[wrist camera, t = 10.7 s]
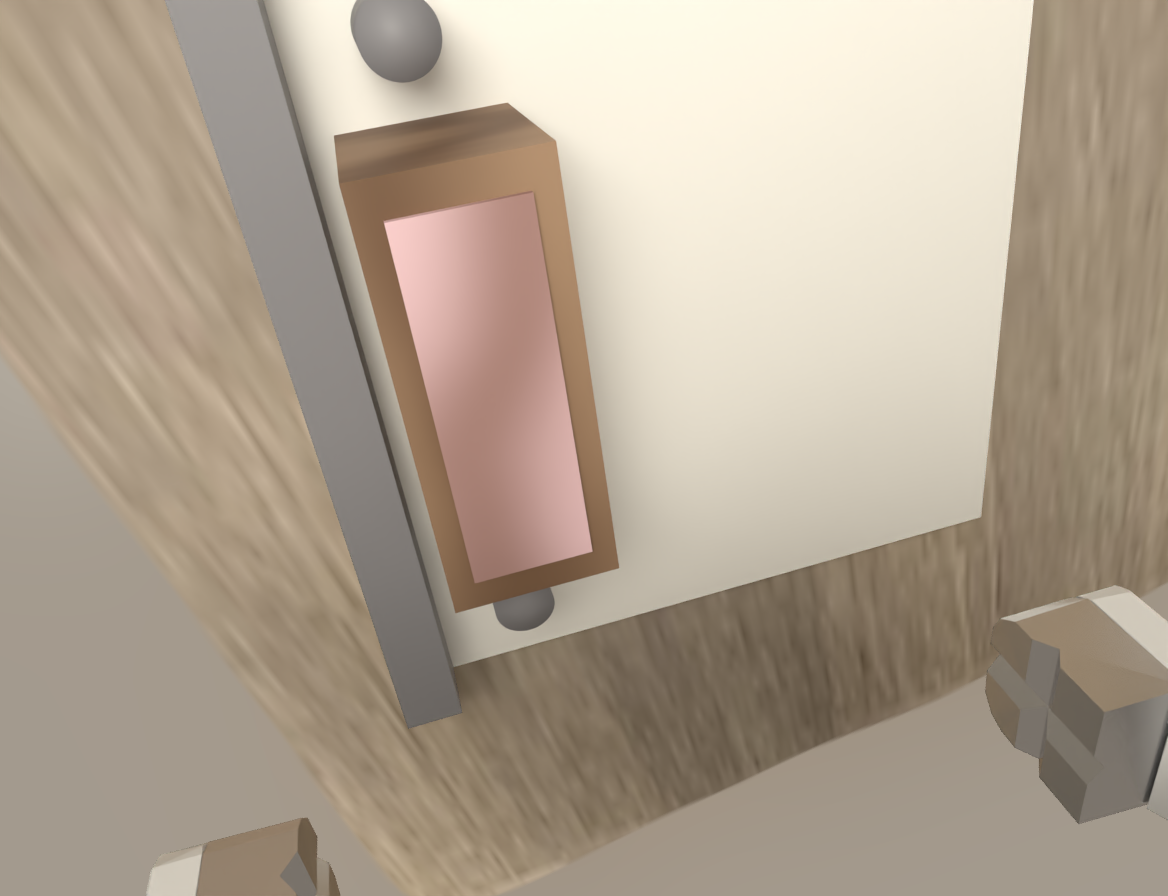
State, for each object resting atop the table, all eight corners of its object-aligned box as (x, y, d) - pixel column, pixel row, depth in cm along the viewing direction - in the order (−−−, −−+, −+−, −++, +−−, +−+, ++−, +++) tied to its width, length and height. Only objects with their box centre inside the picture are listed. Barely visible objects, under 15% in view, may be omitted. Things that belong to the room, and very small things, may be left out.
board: (1048, -525, 19) (1217, -635, 16) (960, 499, 32) (1040, 567, 29) (47, -433, 16) (-28, -542, 13) (399, 656, 29) (411, 754, 26)
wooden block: (507, 102, 21) (557, 142, 17) (569, 467, 26) (621, 572, 22) (333, 135, 20) (339, 185, 16) (431, 502, 25) (456, 617, 21)
